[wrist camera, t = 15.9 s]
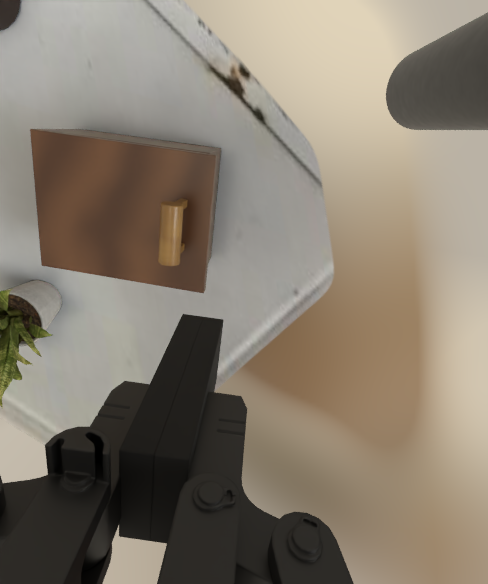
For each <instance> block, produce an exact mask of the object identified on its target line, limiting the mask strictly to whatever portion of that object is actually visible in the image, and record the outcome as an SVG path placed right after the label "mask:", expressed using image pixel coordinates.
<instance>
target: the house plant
mask: <svg viewBox="0 0 488 584" xmlns="http://www.w3.org/2000/svg"><path fill="white" fill-rule="evenodd" d="M61 305H62V300H61V296H60V293H59V292H58V290H57V289H56V288H55V287H54V286H53V285H51V284H49V283H47V282H44V281H40V280H34V281H31V282H28V283H25V284H22V285H19V286H16V287H13V288H10V289H7V290H4V291H1V292H0V405H1V407H2V396H3V394H4V391H5V390H6V389H7V387H8V386H9V384H10V383H11V381H12V379H16V380H21V379H22V376H21V373H20V371H19V369H18V367H17V364H16V363H17V360H18V361H20V362H22V363H24V364H26V365H27V364H31V363H30V362H28V361H27V360H25V359H24V358H23V357H22V356H21V355H20V354H19V353H18V352H19V346H26V345H28V346H29V347H30V348H31V349H32V350H33V351H34V352H35V353H37V354H38V355H39V356H41V355H40V353H39V351H38V350H37V348H36V347H35V345H34V343H35V342H36V341H37V340H38V339H40V338H43V337H47V336H51V334H49V333H48V332H47V331H45V330H46V329H47V327H48V326H49V324H50V323H51V322H52V320H53V319H54V317H55V316H56V314H57V313H58V311H59V310H60V308H61Z"/></svg>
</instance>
